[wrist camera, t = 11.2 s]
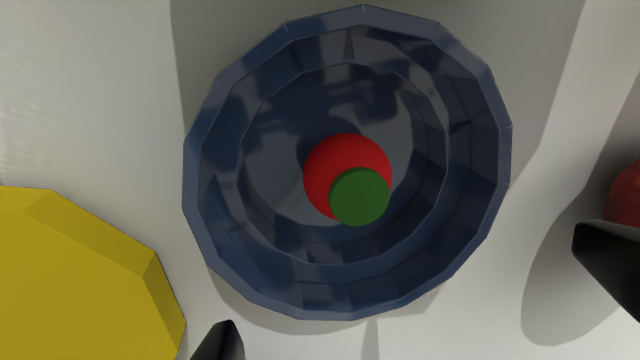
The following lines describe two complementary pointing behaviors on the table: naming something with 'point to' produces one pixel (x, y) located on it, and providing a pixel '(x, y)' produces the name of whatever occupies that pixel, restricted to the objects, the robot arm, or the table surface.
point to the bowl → (334, 118)
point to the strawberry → (348, 179)
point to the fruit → (624, 198)
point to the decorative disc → (79, 286)
